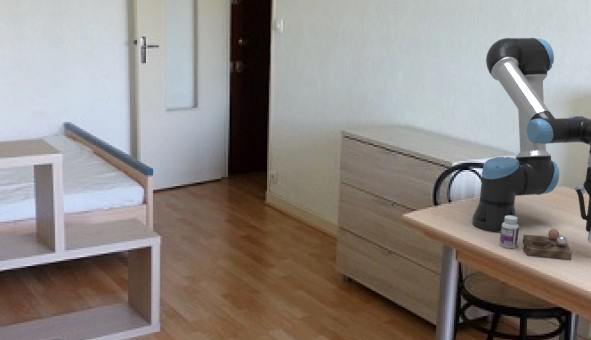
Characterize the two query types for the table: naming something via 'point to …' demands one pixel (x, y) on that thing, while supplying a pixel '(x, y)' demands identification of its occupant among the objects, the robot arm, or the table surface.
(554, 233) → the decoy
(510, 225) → the pill bottle
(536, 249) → the brown flat square slab
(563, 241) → the ball
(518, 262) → the table surface
